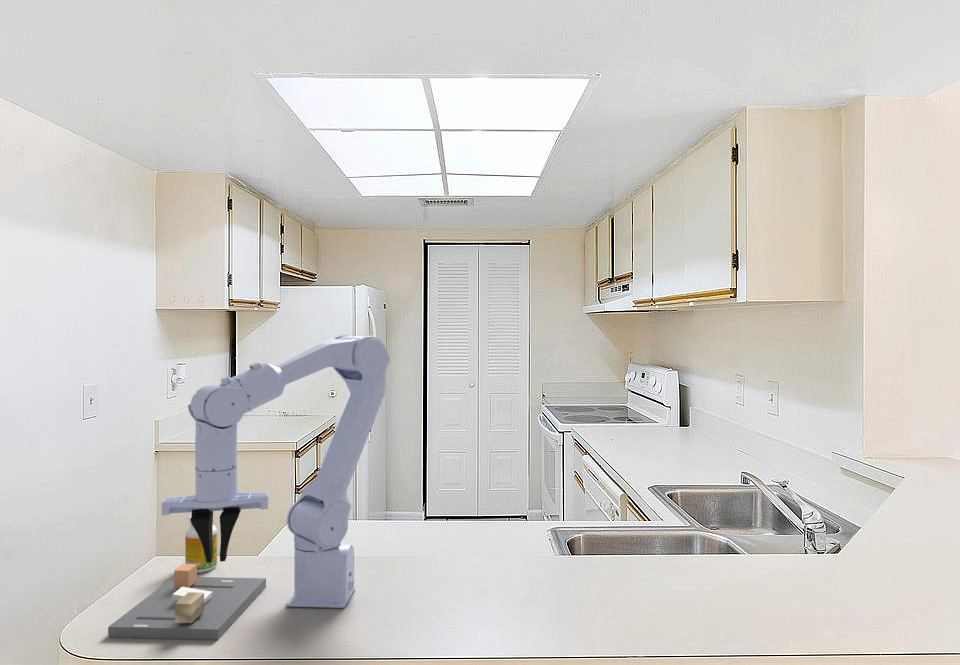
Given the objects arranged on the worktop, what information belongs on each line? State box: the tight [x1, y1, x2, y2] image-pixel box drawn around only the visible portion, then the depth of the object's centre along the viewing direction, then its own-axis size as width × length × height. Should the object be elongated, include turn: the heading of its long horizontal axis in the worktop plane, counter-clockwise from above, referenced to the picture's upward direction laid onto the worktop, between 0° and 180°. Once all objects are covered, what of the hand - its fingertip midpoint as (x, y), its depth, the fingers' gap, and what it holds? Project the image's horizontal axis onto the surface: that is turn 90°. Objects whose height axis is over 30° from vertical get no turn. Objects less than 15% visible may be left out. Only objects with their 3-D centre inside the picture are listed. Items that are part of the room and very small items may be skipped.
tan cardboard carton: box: [175, 592, 204, 623], centre depth 98 cm, size 2×4×3 cm, turn 178°
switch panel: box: [107, 576, 267, 641], centre depth 105 cm, size 16×19×2 cm
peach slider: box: [173, 563, 198, 588], centre depth 110 cm, size 2×3×3 cm
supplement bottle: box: [184, 515, 218, 574], centre depth 122 cm, size 5×5×10 cm
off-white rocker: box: [172, 587, 212, 603], centre depth 104 cm, size 5×3×1 cm, turn 88°
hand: (216, 559), depth 98 cm, fingers closed
